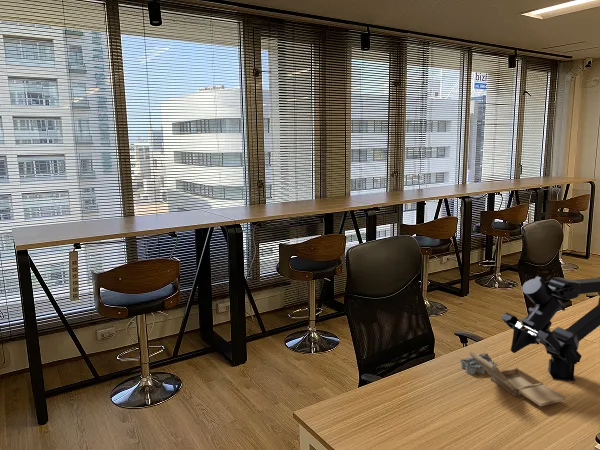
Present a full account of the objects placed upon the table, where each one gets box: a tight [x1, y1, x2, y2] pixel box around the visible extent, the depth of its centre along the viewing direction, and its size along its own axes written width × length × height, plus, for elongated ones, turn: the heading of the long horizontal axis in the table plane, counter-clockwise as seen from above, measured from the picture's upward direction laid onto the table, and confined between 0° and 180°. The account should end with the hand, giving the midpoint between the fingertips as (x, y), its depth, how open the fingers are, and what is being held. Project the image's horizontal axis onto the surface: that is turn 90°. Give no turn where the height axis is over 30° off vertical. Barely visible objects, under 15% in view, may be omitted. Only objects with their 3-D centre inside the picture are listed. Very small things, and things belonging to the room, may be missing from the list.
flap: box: [468, 350, 515, 390], centre depth 145 cm, size 1×10×12 cm
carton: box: [490, 367, 566, 407], centre depth 145 cm, size 10×20×2 cm, turn 18°
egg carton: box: [459, 352, 498, 376], centre depth 160 cm, size 11×8×4 cm
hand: (512, 352), depth 146 cm, fingers closed
